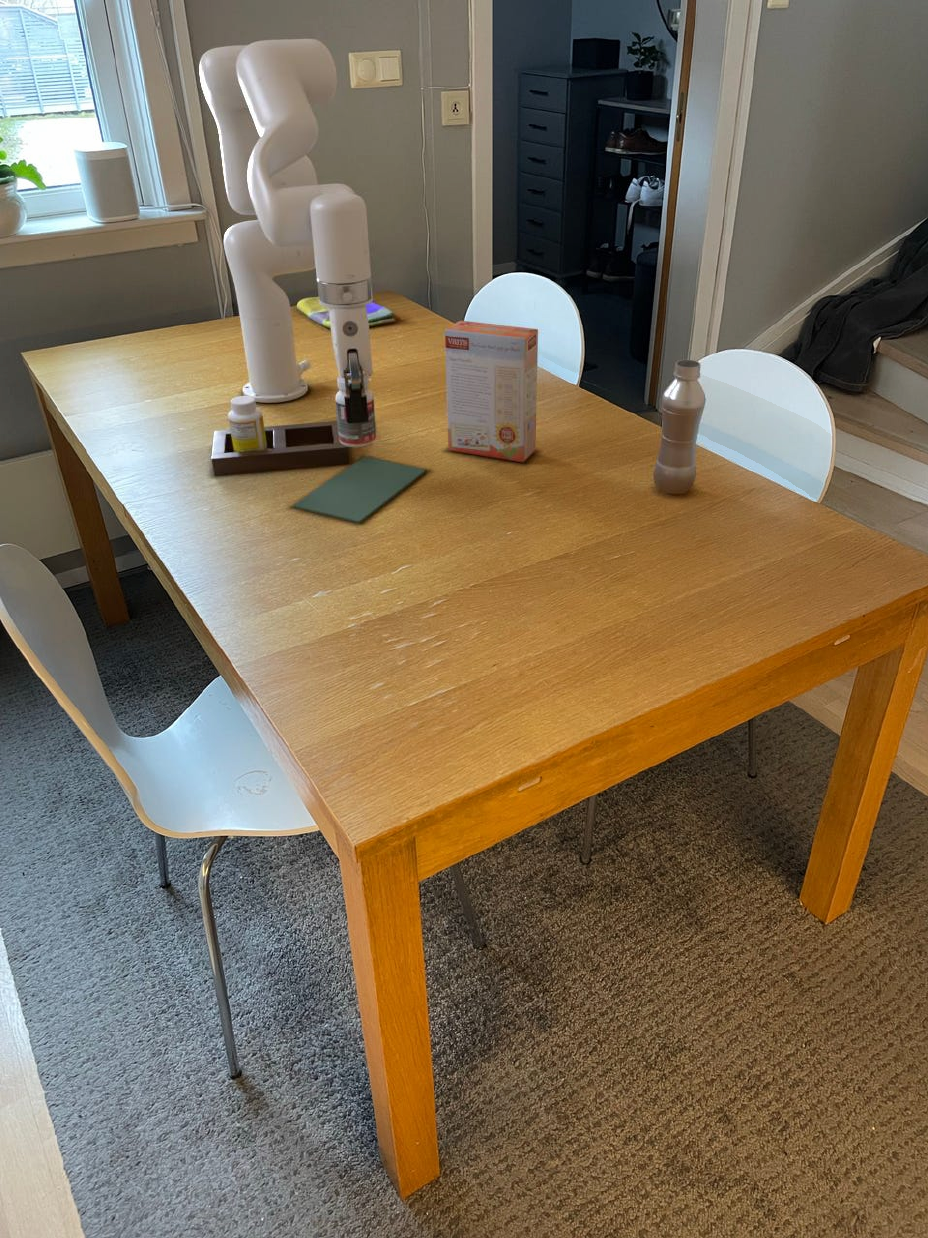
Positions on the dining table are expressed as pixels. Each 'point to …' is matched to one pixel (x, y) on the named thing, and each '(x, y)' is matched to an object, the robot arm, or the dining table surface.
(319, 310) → the dish towel
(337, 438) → the rack
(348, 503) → the mat
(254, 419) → the supplement bottle
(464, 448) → the cracker box
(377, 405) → the dining table surface
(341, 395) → the pill bottle
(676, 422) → the plastic bottle
